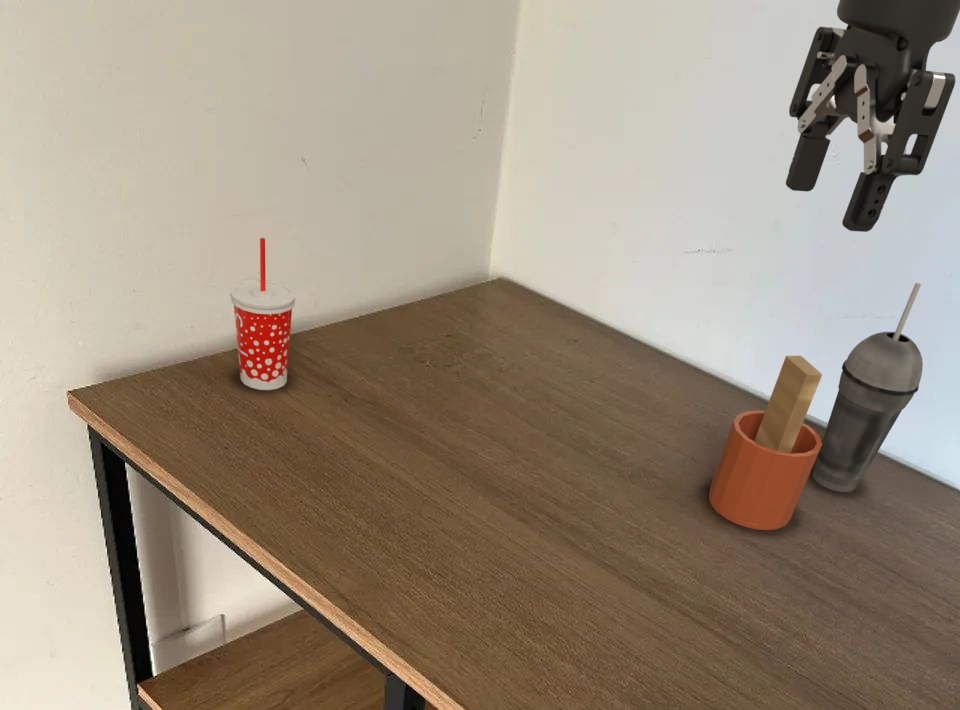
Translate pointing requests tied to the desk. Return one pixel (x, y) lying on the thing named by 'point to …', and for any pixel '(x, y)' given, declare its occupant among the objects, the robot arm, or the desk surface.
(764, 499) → the utensil cup
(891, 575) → the desk surface
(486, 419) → the desk surface
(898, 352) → the beverage cup
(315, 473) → the desk surface
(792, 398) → the wooden block
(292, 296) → the beverage cup
